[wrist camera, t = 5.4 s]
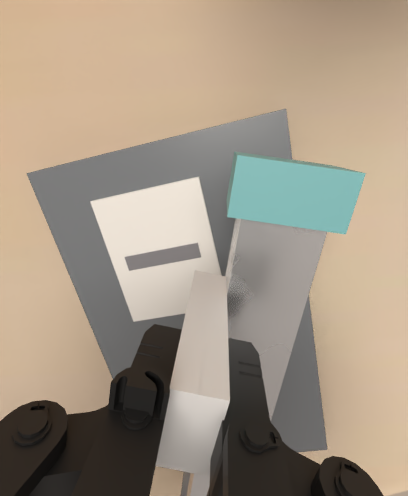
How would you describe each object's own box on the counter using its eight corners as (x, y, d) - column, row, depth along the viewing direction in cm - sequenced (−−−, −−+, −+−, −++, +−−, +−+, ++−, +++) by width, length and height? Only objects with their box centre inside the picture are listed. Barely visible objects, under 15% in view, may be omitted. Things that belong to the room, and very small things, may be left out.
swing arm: (227, 538, 21) (227, 599, 18) (173, 529, 21) (165, 589, 18) (331, 165, 12) (365, 173, 9) (234, 151, 12) (237, 155, 9)
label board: (152, 452, 28) (133, 533, 22) (38, 171, 19) (-43, 185, 13) (322, 436, 26) (351, 521, 20) (282, 110, 17) (312, 95, 11)
